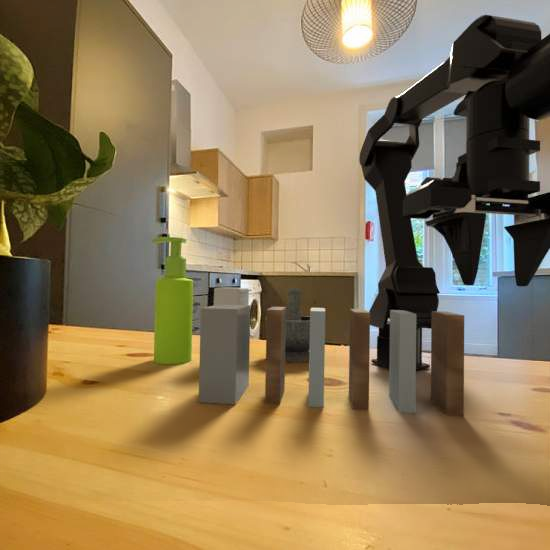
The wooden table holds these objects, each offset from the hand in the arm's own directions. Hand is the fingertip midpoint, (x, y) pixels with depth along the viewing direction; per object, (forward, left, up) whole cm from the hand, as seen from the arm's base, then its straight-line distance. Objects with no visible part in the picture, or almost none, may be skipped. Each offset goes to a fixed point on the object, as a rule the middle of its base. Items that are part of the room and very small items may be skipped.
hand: (495, 285), depth 37 cm
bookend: (+24, -16, -13) cm, 32 cm away
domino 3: (+12, -8, -13) cm, 19 cm away
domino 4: (+8, -5, -13) cm, 16 cm away
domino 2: (+16, -10, -13) cm, 23 cm away
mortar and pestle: (+8, -30, -13) cm, 34 cm away
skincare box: (+19, -31, -13) cm, 39 cm away
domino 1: (+20, -13, -13) cm, 27 cm away
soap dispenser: (+28, -35, -13) cm, 47 cm away
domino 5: (+4, -3, -13) cm, 14 cm away
